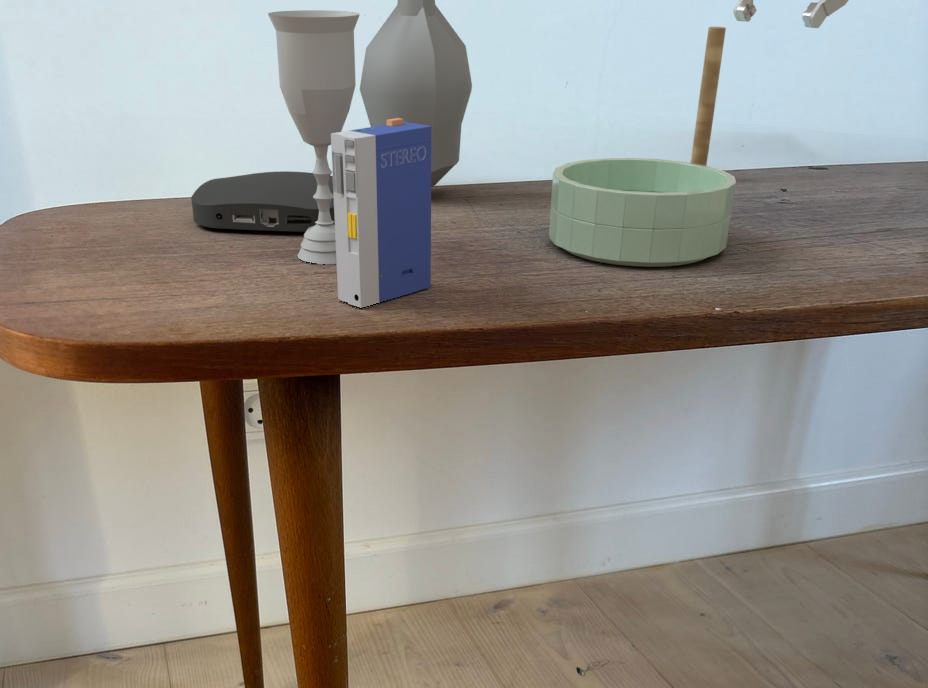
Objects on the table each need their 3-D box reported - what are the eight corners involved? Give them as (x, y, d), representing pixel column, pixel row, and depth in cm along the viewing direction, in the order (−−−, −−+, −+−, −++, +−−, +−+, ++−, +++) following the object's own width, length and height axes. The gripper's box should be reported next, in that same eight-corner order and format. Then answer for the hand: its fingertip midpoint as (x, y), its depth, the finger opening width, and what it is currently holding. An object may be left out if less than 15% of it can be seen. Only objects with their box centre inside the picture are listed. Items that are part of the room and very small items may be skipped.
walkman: (405, 280, 85) (404, 116, 78) (431, 287, 83) (432, 120, 76) (334, 301, 80) (326, 128, 73) (360, 309, 78) (354, 133, 72)
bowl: (744, 238, 97) (755, 169, 94) (694, 280, 86) (706, 202, 83) (586, 218, 103) (592, 152, 100) (521, 254, 92) (524, 180, 88)
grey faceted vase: (467, 184, 116) (475, -158, 99) (473, 208, 106) (482, -165, 89) (365, 184, 115) (354, -160, 98) (361, 207, 106) (349, -168, 89)
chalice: (324, 241, 95) (312, 8, 84) (384, 254, 91) (378, 13, 81) (267, 258, 90) (247, 13, 79) (328, 272, 86) (316, 18, 76)
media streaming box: (365, 202, 108) (364, 170, 106) (339, 237, 96) (338, 202, 94) (226, 197, 109) (223, 166, 107) (183, 231, 97) (178, 197, 95)
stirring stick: (720, 178, 120) (743, 27, 112) (709, 185, 117) (732, 29, 109) (683, 174, 122) (702, 24, 114) (671, 180, 119) (690, 27, 110)
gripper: (761, -112, 119) (691, -9, 120) (924, -114, 106) (843, 2, 107) (779, -64, 124) (711, 35, 125) (936, -60, 111) (859, 50, 111)
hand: (773, 20), depth 116 cm, fingers open, 8 cm apart
